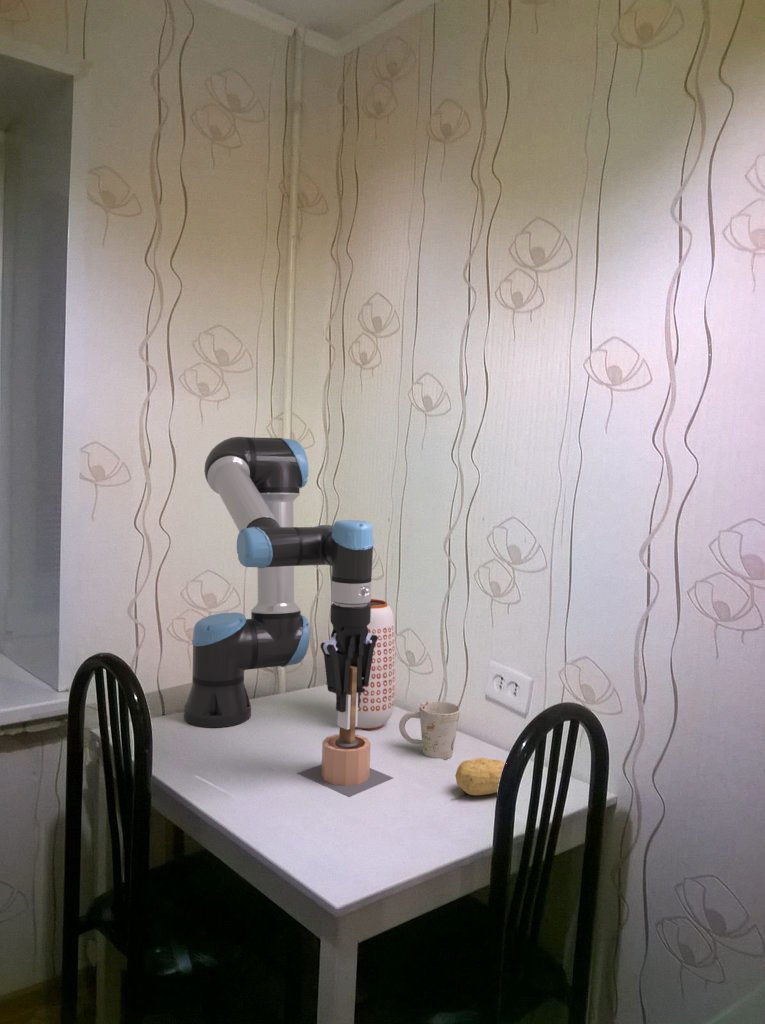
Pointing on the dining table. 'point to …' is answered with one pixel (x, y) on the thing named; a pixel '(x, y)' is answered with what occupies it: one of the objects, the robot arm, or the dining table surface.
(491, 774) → the potato
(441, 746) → the mug
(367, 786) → the mat
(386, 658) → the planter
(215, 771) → the dining table surface
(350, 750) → the jar
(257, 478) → the robot arm
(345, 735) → the long wooden stick
